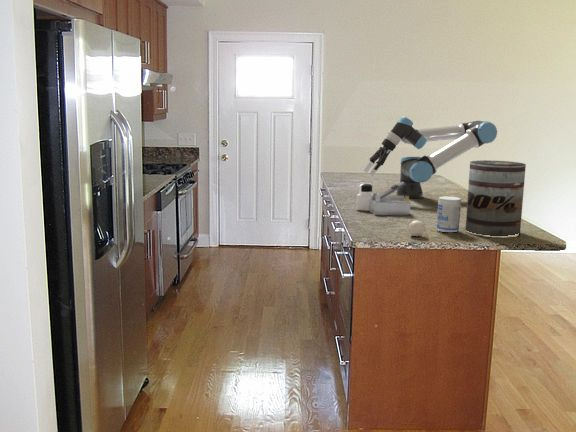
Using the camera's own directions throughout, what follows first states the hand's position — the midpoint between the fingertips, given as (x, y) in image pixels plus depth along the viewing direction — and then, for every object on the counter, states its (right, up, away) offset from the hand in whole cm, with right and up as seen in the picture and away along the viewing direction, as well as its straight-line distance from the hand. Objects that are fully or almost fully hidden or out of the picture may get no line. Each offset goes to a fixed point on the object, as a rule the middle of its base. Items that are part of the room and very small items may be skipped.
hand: (367, 173), depth 357 cm
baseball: (+9, -32, -88) cm, 94 cm away
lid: (+7, -12, -36) cm, 39 cm away
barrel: (+44, -31, -77) cm, 94 cm away
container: (-5, -20, -26) cm, 33 cm away
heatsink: (+7, -22, -35) cm, 42 cm away
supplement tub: (+25, -31, -77) cm, 86 cm away
